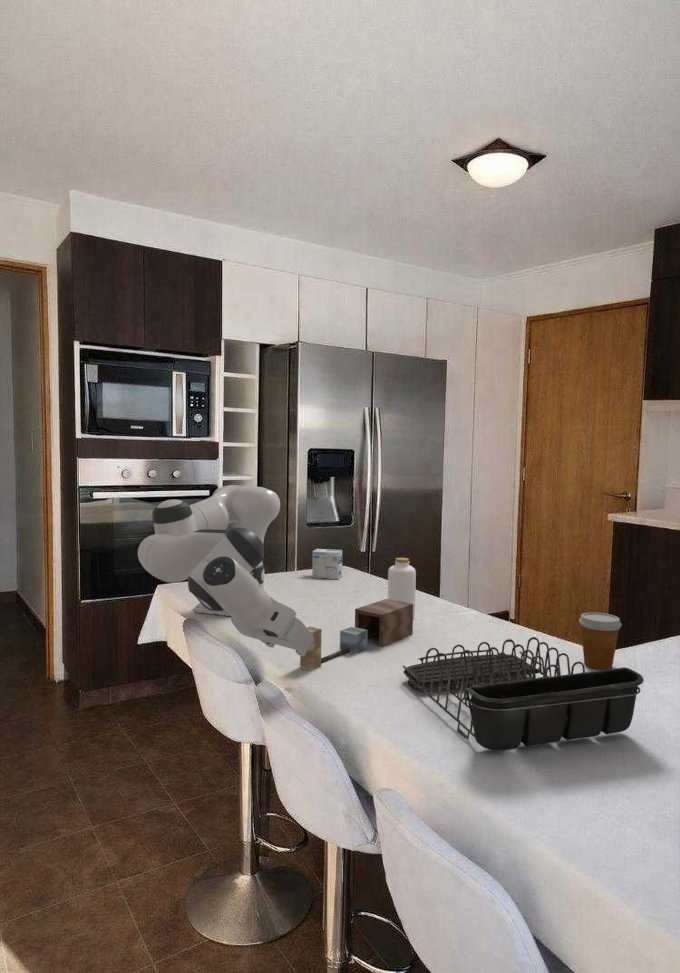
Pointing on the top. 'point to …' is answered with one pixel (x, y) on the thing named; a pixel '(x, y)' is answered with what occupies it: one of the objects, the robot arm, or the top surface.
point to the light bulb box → (327, 564)
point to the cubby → (386, 620)
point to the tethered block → (349, 642)
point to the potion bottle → (402, 582)
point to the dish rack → (529, 696)
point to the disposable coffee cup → (599, 639)
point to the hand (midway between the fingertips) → (287, 648)
